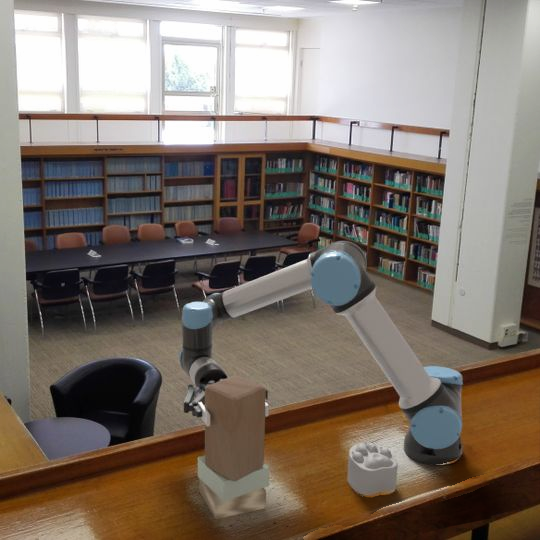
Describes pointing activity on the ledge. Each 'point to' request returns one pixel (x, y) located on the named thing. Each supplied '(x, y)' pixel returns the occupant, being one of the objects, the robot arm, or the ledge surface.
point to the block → (235, 427)
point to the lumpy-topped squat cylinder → (371, 469)
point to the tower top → (232, 488)
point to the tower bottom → (232, 502)
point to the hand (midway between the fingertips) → (238, 415)
